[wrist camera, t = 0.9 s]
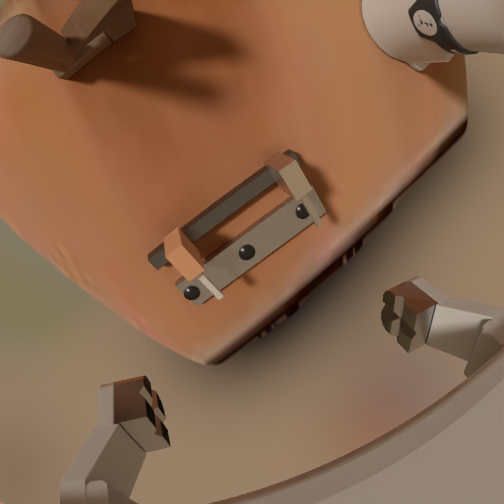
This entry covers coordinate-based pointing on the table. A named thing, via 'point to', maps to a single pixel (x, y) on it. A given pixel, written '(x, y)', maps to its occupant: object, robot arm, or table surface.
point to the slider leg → (187, 259)
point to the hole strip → (251, 246)
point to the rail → (248, 198)
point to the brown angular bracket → (67, 36)
